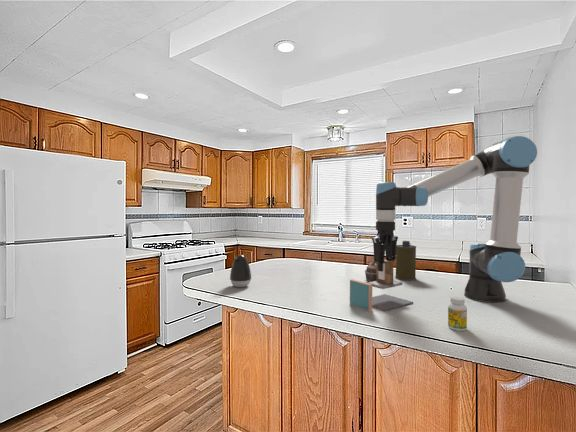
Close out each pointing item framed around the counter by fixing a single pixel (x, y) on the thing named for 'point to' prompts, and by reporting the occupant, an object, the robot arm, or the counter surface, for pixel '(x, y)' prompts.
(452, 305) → the supplement bottle
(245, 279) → the black grey egg shape
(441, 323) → the counter surface
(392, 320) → the counter surface
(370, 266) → the cupcake
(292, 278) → the counter surface
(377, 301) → the mat
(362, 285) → the tile
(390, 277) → the wooden block on base
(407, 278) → the canister
